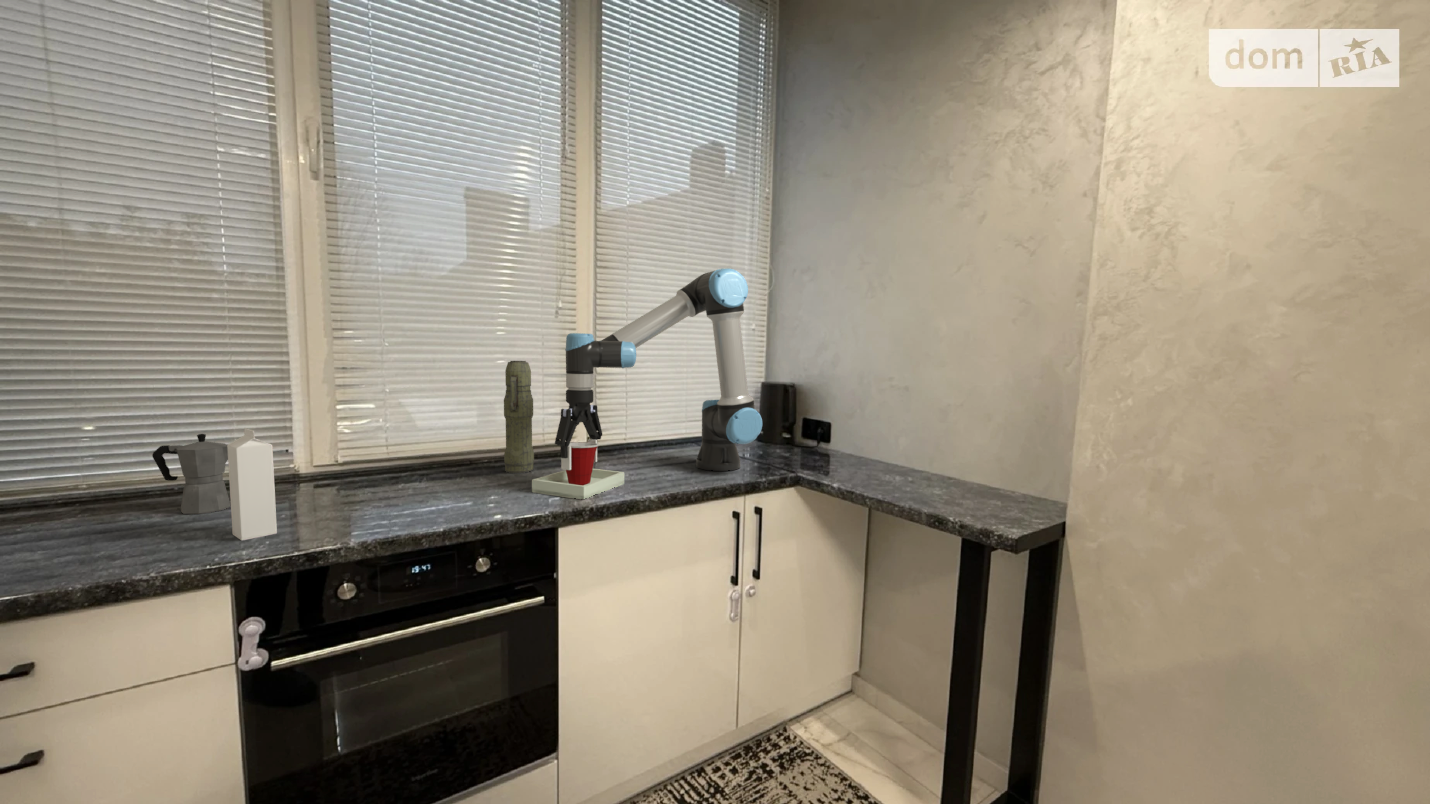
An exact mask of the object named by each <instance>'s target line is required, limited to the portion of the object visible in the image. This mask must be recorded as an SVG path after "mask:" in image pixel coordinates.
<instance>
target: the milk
mask: <svg viewBox="0 0 1430 804" xmlns="http://www.w3.org/2000/svg"><path fill="white" fill-rule="evenodd" d="M243 431H244V434H243V435H241V436H240V437H238V438H237V439H235V440H233V441H232V442H230V443H228V445H227V449H228V460H227V462H228V480H229V481H228V482H229V496H230V497H229V500H230V505H231V506H230V513H231V530H232V536H235V537H236V538H237V539H238V540H240V541H243V542H244V541H246V540H251V539H257V538H262V537H265V536H271V535H276V534H277V533H278V529H277V526H278V525H277V511H276V507H277V506H276V491H275V470H274V453H273V452H274V450H273V449H274V448H273V444H271V443H269V442H266V441H264V440H261V439H257V438H256V437H255V430H253V429H250V428H246V427H244V430H243Z"/></svg>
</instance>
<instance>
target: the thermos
mask: <svg viewBox="0 0 1430 804" xmlns="http://www.w3.org/2000/svg"><path fill="white" fill-rule="evenodd" d="M531 370H532V369H531V366H530V363H529V362H528V361H526V360H510V361H508V362H507V364H506V367H505V386H506V389H505V395H504V397H503V417H504V419H505V450H504V454H503V456H504V457H503V461H504V462H503V463H504V466H505V467H504V468H505V469H504V472H505V471H506V472H505V473H507V472H509V473H508V474H514V473H516V474H526V473H525V472H528V473H530V472H529V471H531V470H533V469H534V462H535V453H534V448H533V416H534V397H533V395H532V390H531V386H532V371H531ZM533 471H534V470H533ZM531 472H532V471H531Z"/></svg>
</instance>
